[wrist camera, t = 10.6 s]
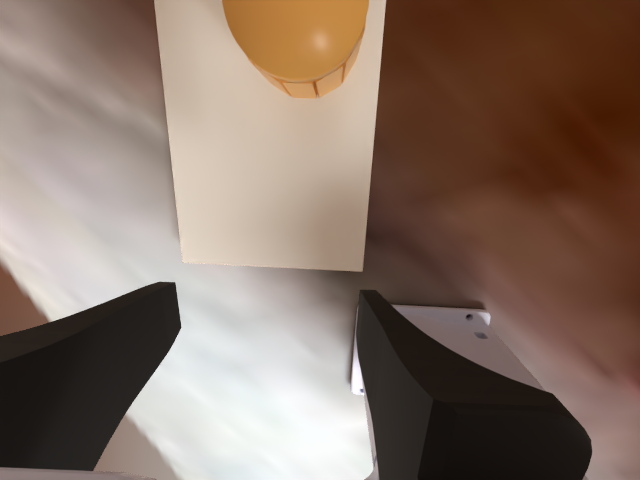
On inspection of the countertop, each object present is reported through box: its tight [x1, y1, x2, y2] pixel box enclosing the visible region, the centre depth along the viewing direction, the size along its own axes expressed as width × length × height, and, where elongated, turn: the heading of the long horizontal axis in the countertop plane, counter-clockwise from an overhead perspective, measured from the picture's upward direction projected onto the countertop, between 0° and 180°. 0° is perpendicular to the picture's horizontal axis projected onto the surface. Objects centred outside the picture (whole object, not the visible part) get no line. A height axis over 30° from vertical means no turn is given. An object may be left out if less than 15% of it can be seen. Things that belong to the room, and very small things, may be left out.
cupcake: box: [222, 0, 369, 99], centre depth 13 cm, size 6×6×5 cm
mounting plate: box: [154, 0, 386, 272], centre depth 16 cm, size 12×18×5 cm, turn 178°
